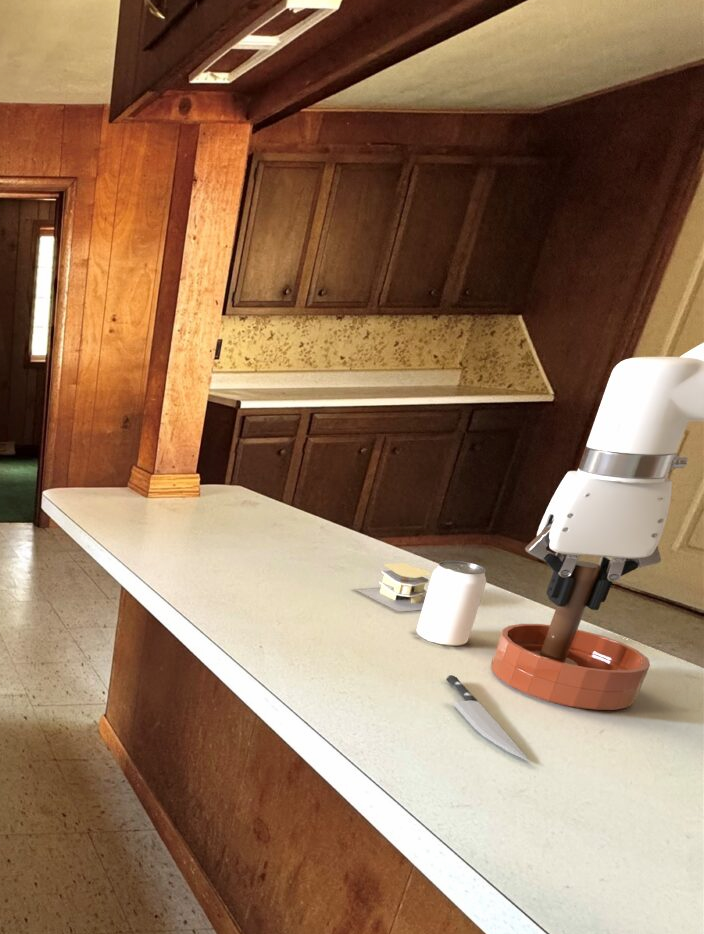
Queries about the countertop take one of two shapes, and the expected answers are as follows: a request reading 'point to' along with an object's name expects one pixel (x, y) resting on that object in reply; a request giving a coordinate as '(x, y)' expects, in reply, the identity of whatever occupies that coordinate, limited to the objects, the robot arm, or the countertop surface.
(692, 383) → the robot arm
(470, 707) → the chef's knife
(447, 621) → the can
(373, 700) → the countertop surface
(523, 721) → the countertop surface
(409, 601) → the stacked layers on plate
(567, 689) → the bowl
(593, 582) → the brown post with base
